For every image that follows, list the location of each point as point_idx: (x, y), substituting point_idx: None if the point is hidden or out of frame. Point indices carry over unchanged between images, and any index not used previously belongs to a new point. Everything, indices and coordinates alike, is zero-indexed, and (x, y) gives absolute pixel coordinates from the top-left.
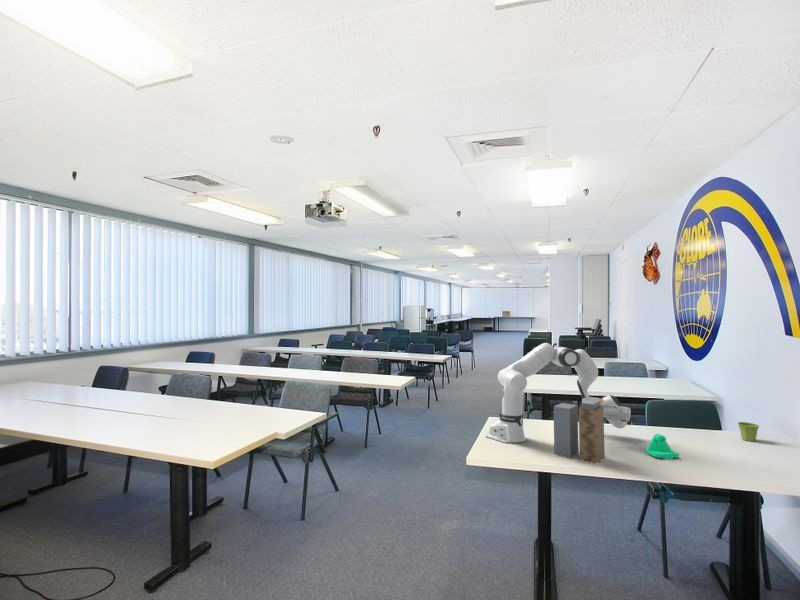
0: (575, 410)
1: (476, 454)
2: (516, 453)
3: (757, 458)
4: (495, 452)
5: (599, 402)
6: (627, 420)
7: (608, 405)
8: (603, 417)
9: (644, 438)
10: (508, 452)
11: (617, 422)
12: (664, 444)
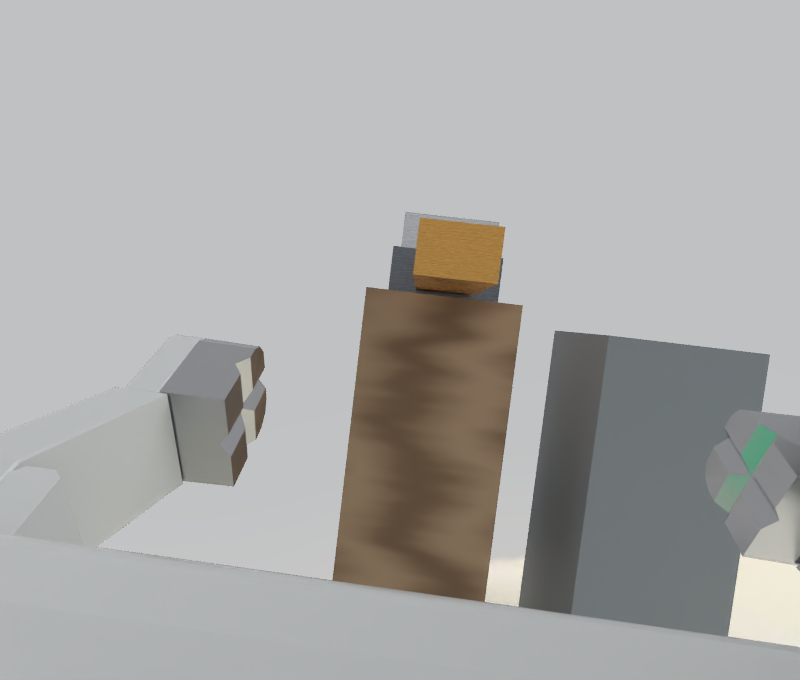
0: (584, 372)
1: (789, 564)
2: (739, 615)
3: None
4: (793, 597)
5: (393, 250)
6: None
7: (543, 626)
8: (355, 387)
9: None
10: (772, 613)
11: None
12: None
